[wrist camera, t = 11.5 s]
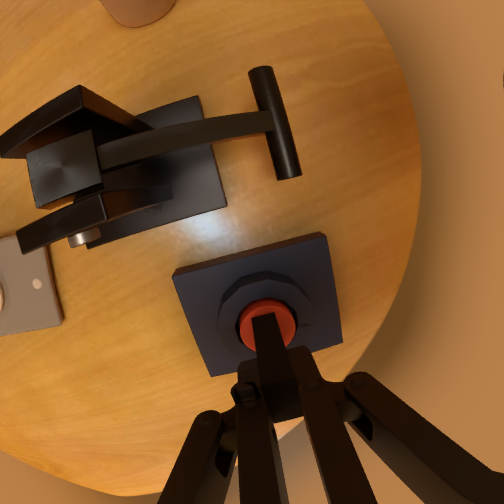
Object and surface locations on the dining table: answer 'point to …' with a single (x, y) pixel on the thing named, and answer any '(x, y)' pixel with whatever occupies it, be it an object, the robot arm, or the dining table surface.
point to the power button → (263, 308)
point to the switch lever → (160, 146)
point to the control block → (260, 297)
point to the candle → (137, 11)
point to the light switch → (26, 290)
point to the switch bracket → (117, 171)
